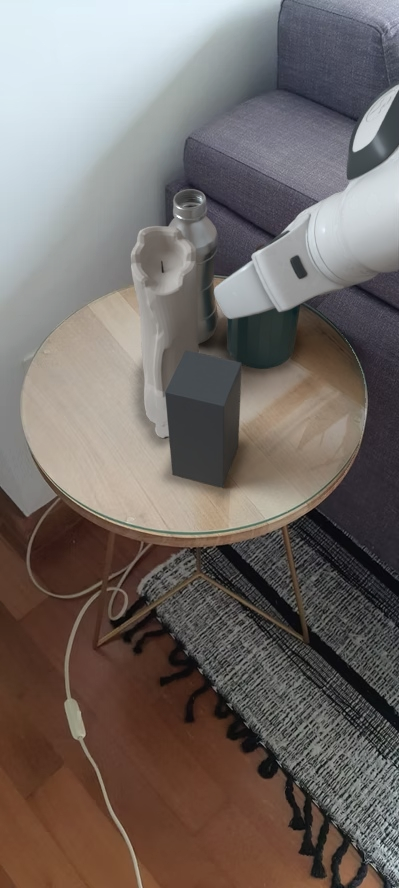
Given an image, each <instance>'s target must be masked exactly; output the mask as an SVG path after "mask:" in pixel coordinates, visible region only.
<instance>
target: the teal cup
mask: <svg viewBox="0 0 399 888" xmlns="http://www.w3.org/2000/svg"><path fill="white" fill-rule="evenodd" d="M247 263H248V262H246V263H244V264H242V265H240V266H238V267H237V268H235V269H234V270H233V271H232V272H231V273H230V275H232V274H233V273H235V272H236V271H238V270H239V269H240V268H242V267H243V266H245V265H246V264H247ZM300 309H301V305H299V306H297V307H294V308H292V309H290V310H287V311H284V312H278V311H277V309H276V308H274V309H271V310H268V311H266V312H262V313H259V314H255V315H251V316H246V317H242V318H237V319H229V318H227V317H226V348H227V351H228V353H229V355H230V356H231V358H232V359H233V360H234V361H236V362H241V363H242V366H245V367H247V368H251V369H255V370H267V369H273V368H276V367H280V366H281V365H283V364H284V363H286V362H288V361H289V359H290V358H291V357H292V356H293V354H294V352H295V348H296V346H295V345H296V342H297V333H298V327H299V317H300Z"/></svg>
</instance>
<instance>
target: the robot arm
mask: <svg viewBox="0 0 399 888" xmlns="http://www.w3.org/2000/svg"><path fill="white" fill-rule="evenodd" d="M346 180H348V185H347V186H346V188H344V190H342V191H338V192H336V193H334V194H331V195H329V196H328V197H326V198H324V199H322V200H320V201H318V202H316V203H315V204H312V205H311V206H309V207H307V208H304V210H302V211H301V212H300V213H299V214H298V215H297V216H296V217H295V218H294V220H292V222H291V223H290V224H288V225H287V226H286V227H285V229H284V230H283V231H282V232H281V233H280V234H278V235H277V236H275V237H274V238H273V239H272V240H270V241H269V242H268V243H265V244H263V245H264V246H263V247H261V248H260V250H258V251H257V252H254V253H252V254H251V256H250V257H251V260H250V261H249V262H246V263H247V264H246V263H245V264H246V265H245V266H243V267H242V268H240V269H239V270H238V271H236V272H235V273H233V274H232V275H231V274H230V275H228V277H226V278H225V279H224V280H222V281H220V283H218V284H217V285H216V286H214V295H215V301H216V304H218V305H217V306H218V307H219V309H220V310H221V312H222V313H223V315H224V316H225V318H226V319H227V318H229V319H237V318H242V317H246V316H251V315H255V314H259V313H262V312H266V311H268V310H271V309H274V308H276V309H277V311H278V312H284V311H287V310H290V309H292V308H294V307H297V306H299V305H300V306H301V305H303V304H305V303H307V302H309V301H311V300H313V299H315V298H317V297H320V296H324V295H328V294H333V293H335V292H339V291H341V290H343V289H347V288H350V287H352V286H356V285H359V284H361V283H364V282H367V281H370V280H372V279H374V278H375V277H377V276H378V275H380V273H381V274H385V273H387V274H388V273H389V274H390V273H394V272H398V271H399V80H397V81H395V82H394V83H392V84H391V85H389V86H388V87H387V88H385V89H384V90H383V91H381V92H380V93H379V94H378V95H377V96H376V97H375V98H373V100H372V101H371V102H370V103H369V104H368V105H367V106H366V107H365V108H364V109H363V111H362V112H361V114H360V115H359V117H358V118H357V121H356V123H355V125H354V127H353V130H352V133H351V136H350V139H349V144H348V152H347V159H346Z"/></svg>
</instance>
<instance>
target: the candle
mask: <svg viewBox="0 0 399 888" xmlns="http://www.w3.org/2000/svg"><path fill="white" fill-rule="evenodd" d="M168 226H169V225H168ZM168 226H166V225H165V226H163V225H152V226H148V227H145V228H142V229H140V230H139V231H138V234H137V238H136V243H135V245H134V247H133V248H132V250H131V253H130V262H131V263H130V264H131V265H130V269H131V270H130V271H131V275H132V281H133V285H134V290H135V291H134V292H135V295H136V296H135V297H136V300H137V306H138V312H139V321H140V341H141V342H140V345H141V346H140V347H141V349H140V350H141V359H142V368H143V369H142V371H143V377H144V387H143V403H144V408H145V409H144V410H145V415H146V417H147V418H148V420H149V421H150V422H151V423H152V424H155V429H154V430H155V433H156V436H158V437H159V438H161V439H165V438H167V437H168V438H169V431H168V420H167V408H166V397H165V391H166V389H167V387H168V385H169V383H170V381H171V379H172V376H173V374H174V372H175V370H176V368H177V366H178V364H179V362H180V360H181V358H182V356H183V354H184V352H185V350H187V351H192V352H196V353H200V348H199V344H198V338H197V321H198V293H197V276H196V250H195V247H194V246H193V244H192V243H191V242H190V241H189V240H187V239H186V238H185V237H184V236H183V235H182V232H181V231H180V230H179V229H178V228H175V227H168Z"/></svg>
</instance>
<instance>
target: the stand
mask: <svg viewBox="0 0 399 888" xmlns="http://www.w3.org/2000/svg"><path fill="white" fill-rule="evenodd" d="M242 366H243V365H242V363H241V362H237V361H236V360H232V359H228V358H227V359H226V358H223V357H218V356H214V355H209V354H204V353H201V352H199V353H196V352H192V351H187V350H185V352H184V354H183V356H182V358H181V360H180V362H179V364H178V366H177V368H176V370H175V372H174V374H173V376H172V379H171V381H170V383H169V385H168V387H167V389H166V391H165V397H166V408H167V420H168V431H169V436H168V440H169V453H170V465H171V474H172V476H176V477H180V478H182V479H187V480H190V481H194V482H198V483H202V484H206V485H210V486H213V487H217V488H221V489H223V488H224V487H225V484H226V483H227V482H226V481H227V479H228V477H229V475H230V474H229V473H230V470H231V468H232V466H233V464H234V460H235V457H236V456H237V455H236V454H237V452H238V450H239V439H240V415H241V391H242V389H241V388H242V368H243V367H242Z"/></svg>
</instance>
